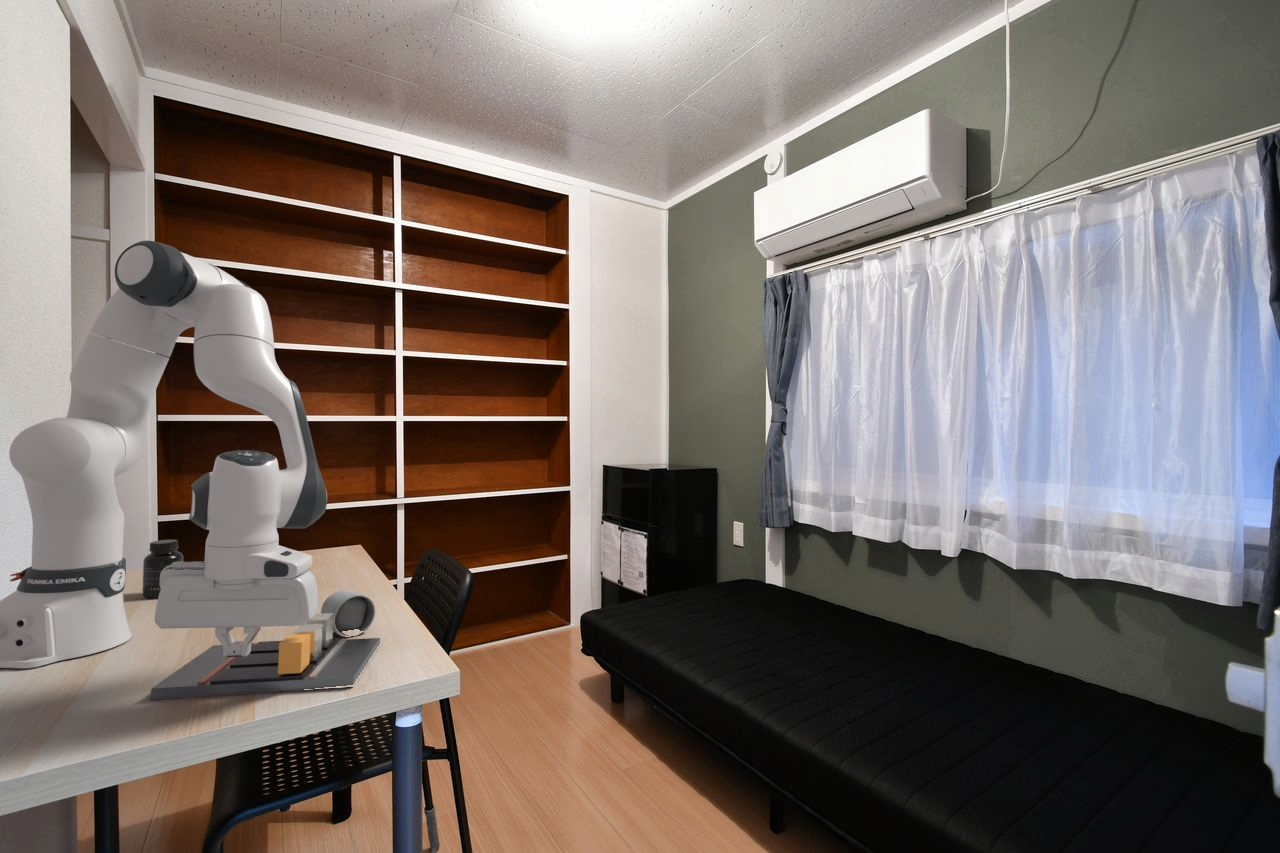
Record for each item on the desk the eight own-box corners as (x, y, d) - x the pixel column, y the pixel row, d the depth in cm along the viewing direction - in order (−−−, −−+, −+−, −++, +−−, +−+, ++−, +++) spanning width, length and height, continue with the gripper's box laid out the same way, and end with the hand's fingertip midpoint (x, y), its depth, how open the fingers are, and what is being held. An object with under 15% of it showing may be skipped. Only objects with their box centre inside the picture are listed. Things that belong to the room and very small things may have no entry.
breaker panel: (150, 700, 77) (152, 653, 78) (212, 654, 93) (214, 615, 93) (353, 687, 83) (354, 643, 83) (379, 646, 99) (381, 610, 99)
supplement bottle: (152, 591, 127) (154, 538, 127) (188, 590, 129) (190, 538, 129) (135, 600, 120) (137, 544, 120) (173, 598, 122) (175, 543, 122)
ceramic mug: (357, 621, 111) (357, 582, 111) (375, 631, 106) (376, 591, 106) (298, 635, 103) (298, 594, 103) (314, 647, 98) (315, 604, 98)
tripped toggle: (277, 674, 81) (279, 643, 82) (287, 664, 85) (288, 634, 85) (300, 673, 82) (301, 642, 82) (309, 663, 86) (310, 634, 86)
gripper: (146, 566, 77) (140, 667, 77) (308, 566, 81) (303, 661, 81) (175, 556, 83) (169, 649, 83) (324, 556, 87) (319, 645, 87)
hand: (237, 655), depth 82 cm, fingers closed
